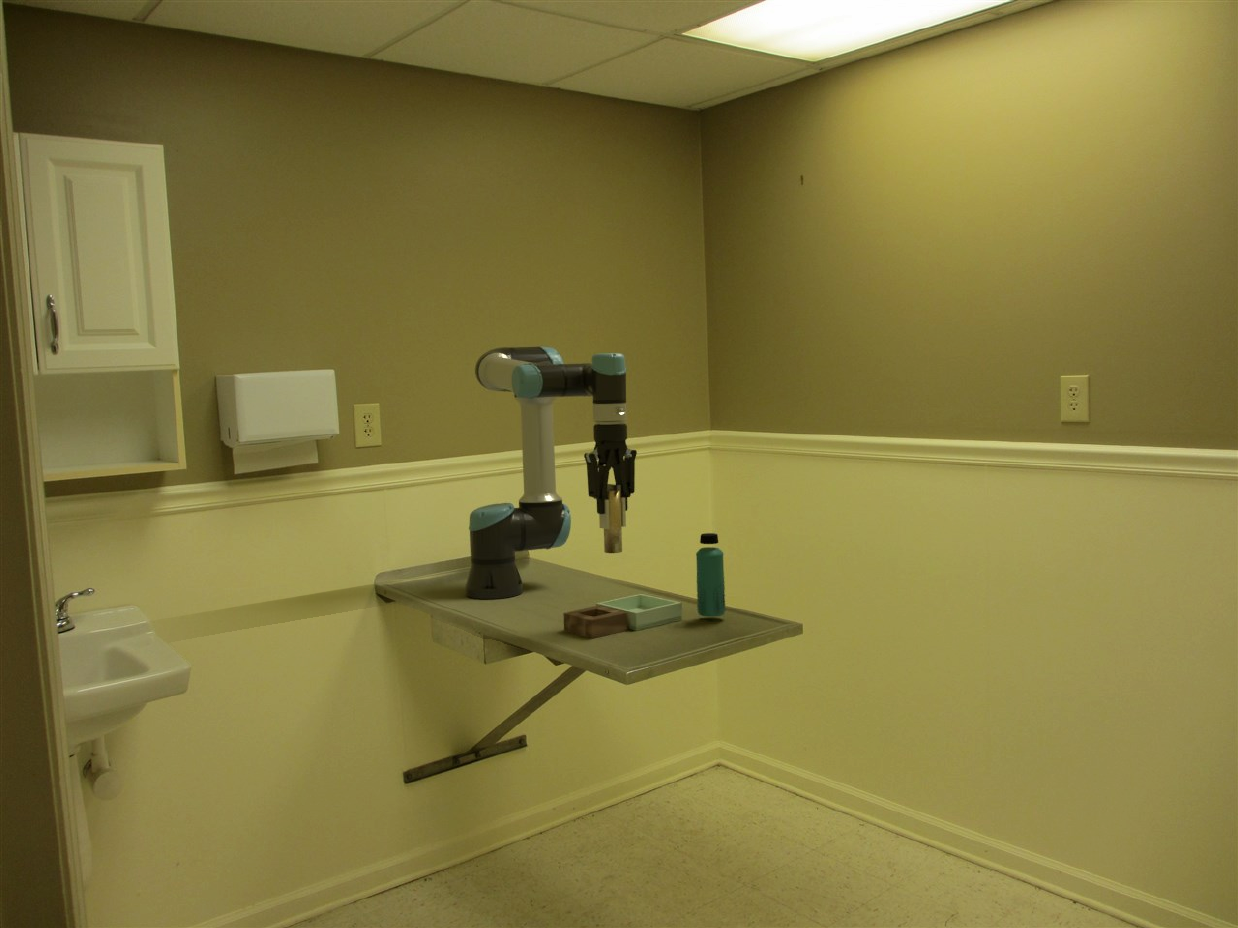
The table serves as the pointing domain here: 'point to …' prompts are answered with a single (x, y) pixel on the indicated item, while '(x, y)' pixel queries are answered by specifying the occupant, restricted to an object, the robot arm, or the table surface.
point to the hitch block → (595, 621)
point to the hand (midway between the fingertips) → (612, 526)
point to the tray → (646, 610)
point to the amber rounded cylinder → (613, 520)
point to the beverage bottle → (710, 578)
